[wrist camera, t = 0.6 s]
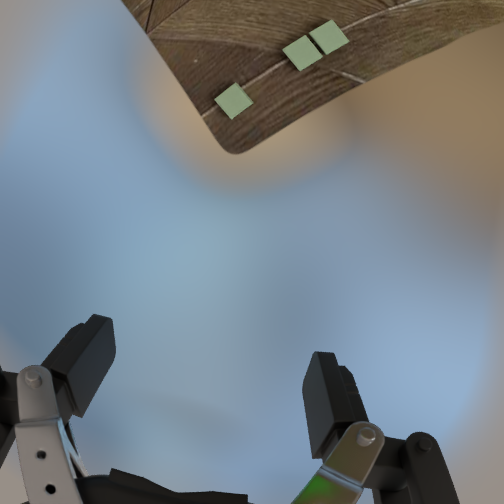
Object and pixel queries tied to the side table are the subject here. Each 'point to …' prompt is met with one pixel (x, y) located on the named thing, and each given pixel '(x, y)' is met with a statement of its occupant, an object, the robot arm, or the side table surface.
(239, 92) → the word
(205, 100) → the side table surface
